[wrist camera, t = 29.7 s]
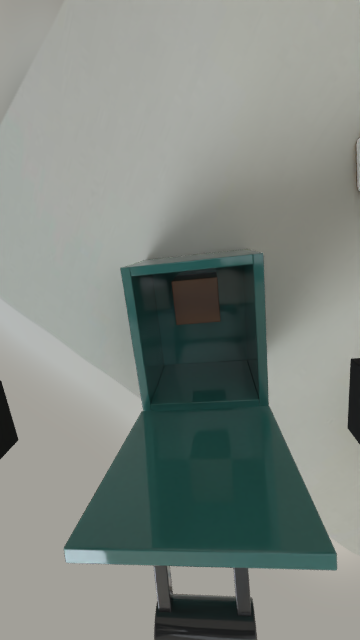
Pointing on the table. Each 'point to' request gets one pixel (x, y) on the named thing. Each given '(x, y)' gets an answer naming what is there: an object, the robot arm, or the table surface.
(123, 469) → the lid
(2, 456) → the robot arm
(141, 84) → the table surface
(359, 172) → the cup
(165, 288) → the tin
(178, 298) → the block
